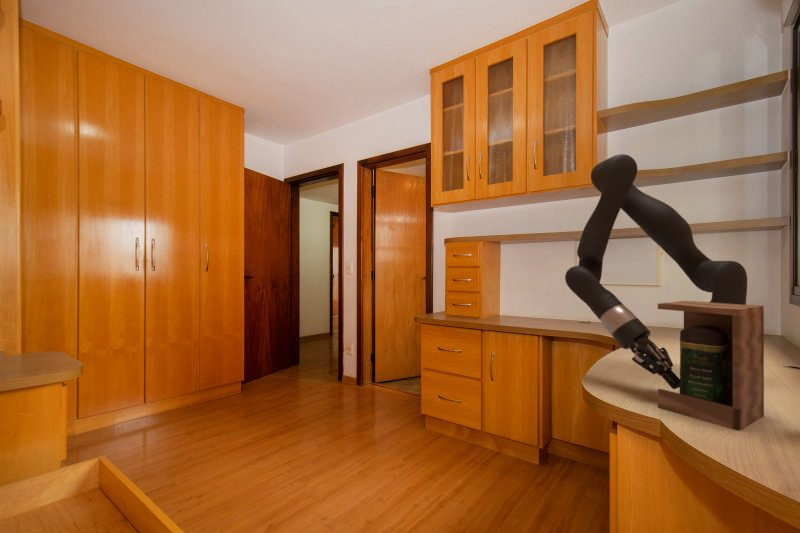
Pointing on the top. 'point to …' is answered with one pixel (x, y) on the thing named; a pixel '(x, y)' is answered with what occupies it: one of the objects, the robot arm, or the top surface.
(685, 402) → the walnut cubby
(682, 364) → the coffee jar
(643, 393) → the top surface
